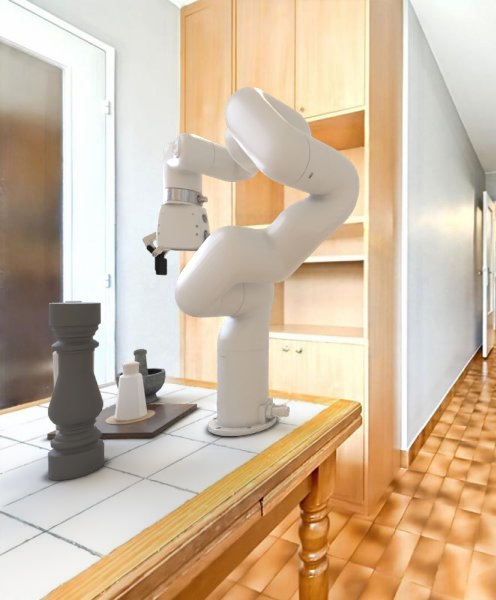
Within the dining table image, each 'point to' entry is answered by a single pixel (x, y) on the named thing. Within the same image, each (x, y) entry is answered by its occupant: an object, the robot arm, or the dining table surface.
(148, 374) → the mortar and pestle
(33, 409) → the dining table surface
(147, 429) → the board
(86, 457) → the candle holder
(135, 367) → the pepper shaker
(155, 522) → the dining table surface
